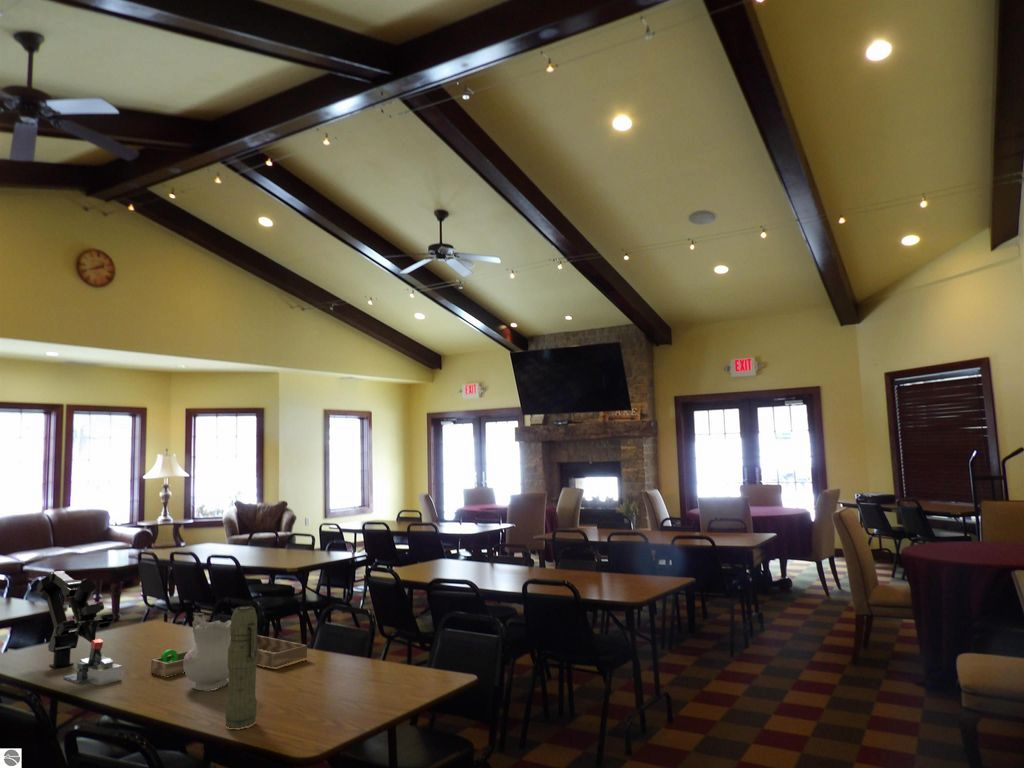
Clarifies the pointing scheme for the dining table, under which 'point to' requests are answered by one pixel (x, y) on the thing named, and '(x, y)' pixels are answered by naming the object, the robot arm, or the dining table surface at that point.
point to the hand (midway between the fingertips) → (93, 642)
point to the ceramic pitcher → (208, 654)
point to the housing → (104, 674)
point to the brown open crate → (279, 651)
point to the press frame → (79, 673)
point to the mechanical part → (168, 652)
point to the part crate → (168, 665)
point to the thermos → (242, 668)
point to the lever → (97, 656)
